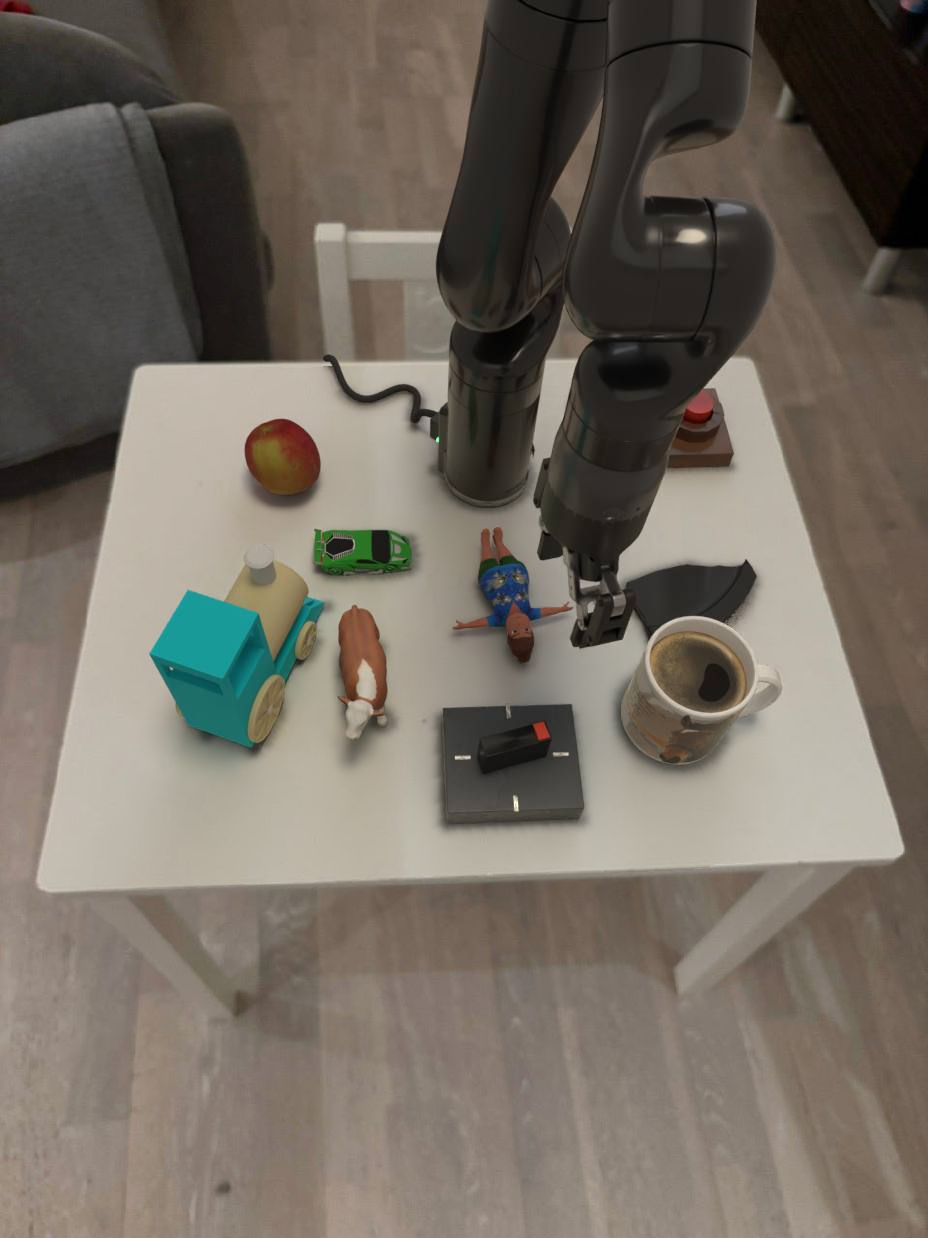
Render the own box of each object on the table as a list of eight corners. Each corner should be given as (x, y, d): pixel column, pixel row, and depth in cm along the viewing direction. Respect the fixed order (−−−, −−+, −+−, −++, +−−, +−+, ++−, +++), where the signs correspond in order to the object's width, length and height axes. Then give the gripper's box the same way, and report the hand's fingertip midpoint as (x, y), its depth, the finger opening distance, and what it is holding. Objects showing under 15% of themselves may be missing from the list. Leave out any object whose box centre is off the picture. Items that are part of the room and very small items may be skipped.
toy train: (332, 609, 91) (318, 520, 78) (261, 754, 83) (231, 682, 70) (261, 586, 92) (235, 494, 79) (183, 727, 84) (140, 650, 71)
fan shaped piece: (774, 618, 93) (779, 610, 91) (654, 652, 90) (658, 644, 89) (737, 553, 97) (741, 545, 95) (621, 584, 94) (624, 576, 93)
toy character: (551, 509, 93) (592, 633, 86) (546, 536, 97) (585, 657, 90) (432, 527, 91) (464, 655, 84) (431, 554, 95) (462, 678, 88)
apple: (311, 446, 102) (303, 395, 95) (331, 500, 98) (324, 451, 91) (244, 462, 100) (231, 412, 93) (262, 518, 97) (250, 470, 90)
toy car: (410, 536, 96) (410, 523, 94) (412, 573, 94) (412, 561, 92) (316, 539, 95) (313, 526, 94) (315, 576, 93) (313, 564, 91)
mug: (655, 649, 90) (682, 590, 81) (763, 714, 87) (805, 661, 78) (601, 727, 86) (624, 675, 76) (713, 799, 83) (752, 753, 73)
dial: (483, 774, 80) (486, 756, 76) (476, 756, 81) (479, 737, 77) (546, 756, 81) (552, 737, 77) (539, 738, 82) (545, 719, 78)
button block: (728, 466, 103) (739, 442, 99) (659, 468, 102) (668, 444, 99) (710, 401, 108) (720, 376, 104) (644, 402, 107) (652, 377, 104)
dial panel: (446, 825, 80) (447, 813, 78) (441, 719, 86) (442, 705, 83) (579, 820, 81) (585, 808, 78) (567, 716, 86) (572, 701, 84)
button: (712, 423, 101) (717, 412, 100) (681, 424, 101) (685, 413, 100) (706, 399, 103) (710, 388, 102) (675, 400, 103) (679, 389, 101)
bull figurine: (343, 764, 83) (336, 729, 76) (341, 637, 90) (335, 593, 83) (391, 761, 83) (388, 726, 76) (386, 634, 90) (382, 591, 83)
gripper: (696, 548, 58) (638, 662, 72) (618, 387, 64) (579, 520, 79) (587, 571, 57) (549, 683, 71) (519, 404, 63) (497, 536, 77)
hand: (565, 597), depth 75 cm, fingers open, 8 cm apart
